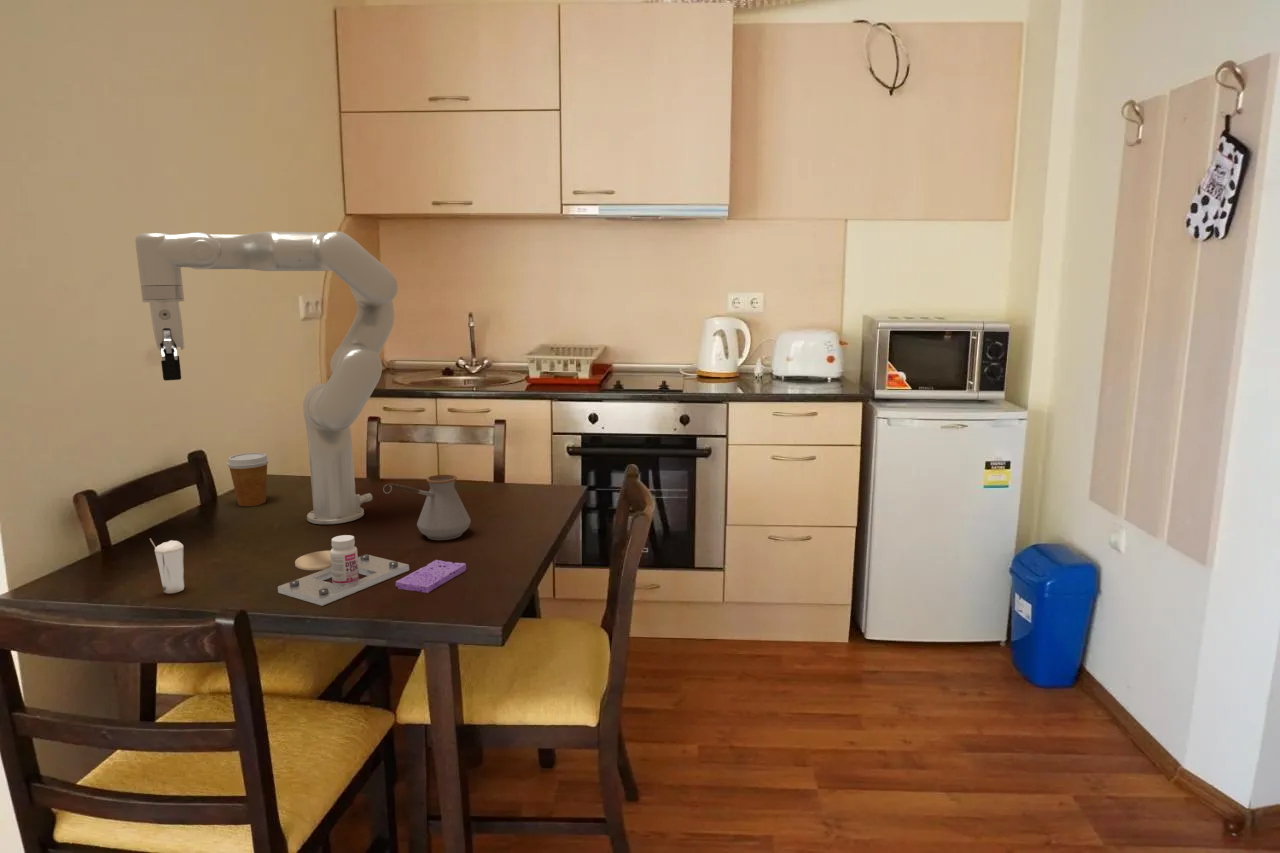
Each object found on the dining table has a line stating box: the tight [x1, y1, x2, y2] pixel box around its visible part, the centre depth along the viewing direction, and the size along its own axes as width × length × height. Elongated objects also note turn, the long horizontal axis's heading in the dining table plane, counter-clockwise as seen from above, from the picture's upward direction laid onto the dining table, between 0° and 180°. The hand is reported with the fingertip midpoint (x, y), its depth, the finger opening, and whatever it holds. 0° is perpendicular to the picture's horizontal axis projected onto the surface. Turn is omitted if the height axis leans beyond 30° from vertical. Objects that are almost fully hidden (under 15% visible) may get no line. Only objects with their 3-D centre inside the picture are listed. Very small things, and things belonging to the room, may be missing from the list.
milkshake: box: [149, 538, 185, 595], centre depth 151 cm, size 4×5×10 cm
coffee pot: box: [382, 474, 472, 541], centre depth 177 cm, size 21×12×15 cm, turn 149°
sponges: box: [395, 559, 467, 594], centre depth 156 cm, size 7×13×2 cm, turn 159°
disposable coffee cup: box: [226, 452, 270, 507], centre depth 208 cm, size 10×10×12 cm
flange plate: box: [277, 554, 410, 607], centre depth 155 cm, size 20×12×2 cm, turn 149°
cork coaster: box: [294, 549, 331, 571], centre depth 166 cm, size 10×10×1 cm
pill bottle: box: [330, 534, 360, 586], centre depth 155 cm, size 5×5×8 cm
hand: (172, 377), depth 174 cm, fingers open, 9 cm apart
